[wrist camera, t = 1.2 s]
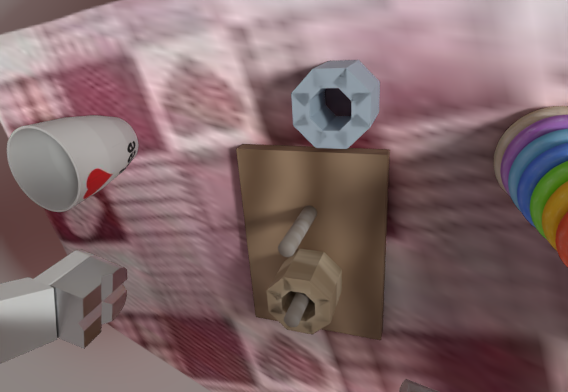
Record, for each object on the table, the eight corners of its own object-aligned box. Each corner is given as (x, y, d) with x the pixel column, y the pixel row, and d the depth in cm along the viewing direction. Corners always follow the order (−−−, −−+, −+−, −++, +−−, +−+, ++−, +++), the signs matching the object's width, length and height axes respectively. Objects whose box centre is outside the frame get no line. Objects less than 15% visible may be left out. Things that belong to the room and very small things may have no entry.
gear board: (389, 149, 35) (376, 186, 28) (382, 330, 43) (370, 395, 36) (242, 144, 40) (198, 174, 33) (260, 308, 48) (228, 362, 41)
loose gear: (380, 59, 33) (371, 67, 28) (378, 132, 35) (369, 149, 31) (308, 61, 35) (289, 69, 30) (311, 130, 37) (294, 147, 33)
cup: (119, 185, 48) (48, 224, 39) (75, 125, 46) (-8, 152, 38) (163, 154, 44) (96, 190, 35) (117, 87, 42) (35, 108, 34)
